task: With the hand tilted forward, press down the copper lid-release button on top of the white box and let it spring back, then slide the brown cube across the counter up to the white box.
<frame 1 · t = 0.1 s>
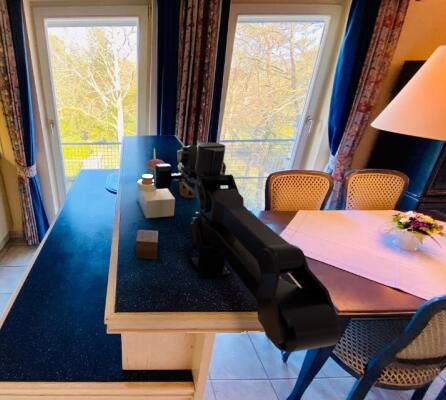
hand: (178, 165, 77), 17 cm above the breakfast bar, tool horizontal, fingers open, 9 cm apart
release button: (147, 179, 87), point 9 cm above the breakfast bar, slide at 0.1 cm
cupcake: (155, 175, 117), on the breakfast bar
white box: (155, 208, 88), on the breakfast bar
disposable coffee cup: (188, 194, 98), on the breakfast bar
brown cube: (147, 252, 66), on the breakfast bar
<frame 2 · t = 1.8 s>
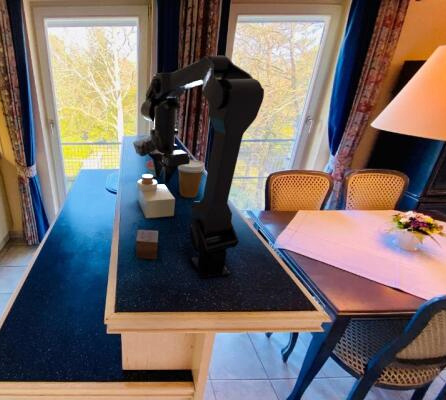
hand: (161, 179, 77), 13 cm above the breakfast bar, tool pointing down, fingers open, 5 cm apart
nothing on the breakfast bar moved.
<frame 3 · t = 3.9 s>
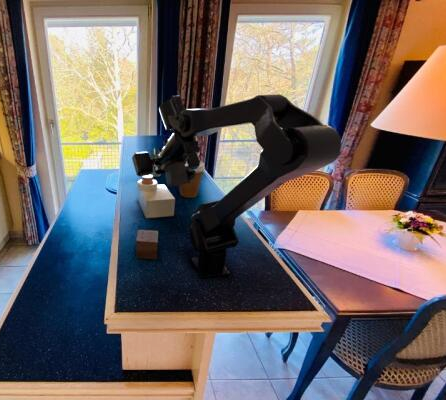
hand: (156, 174, 80), 13 cm above the breakfast bar, tool tilted 45°, fingers closed
nothing on the breakfast bar moved.
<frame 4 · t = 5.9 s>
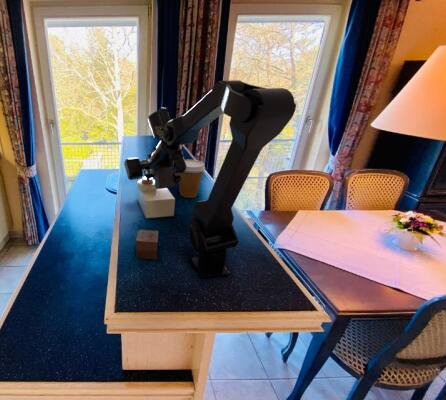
hand: (147, 177, 87), 10 cm above the breakfast bar, tool tilted 45°, fingers closed, pressing on release button
release button: (147, 181, 88), point 8 cm above the breakfast bar, slide at -0.7 cm, touching gripper
everything else where it was.
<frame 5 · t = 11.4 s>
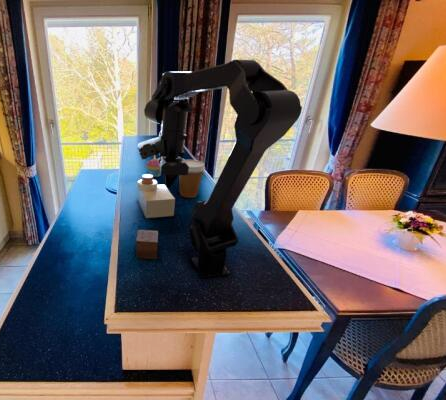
hand: (168, 187, 71), 13 cm above the breakfast bar, tool pointing down, fingers closed
release button: (147, 179, 87), point 9 cm above the breakfast bar, slide at 0.1 cm
everything else where it was.
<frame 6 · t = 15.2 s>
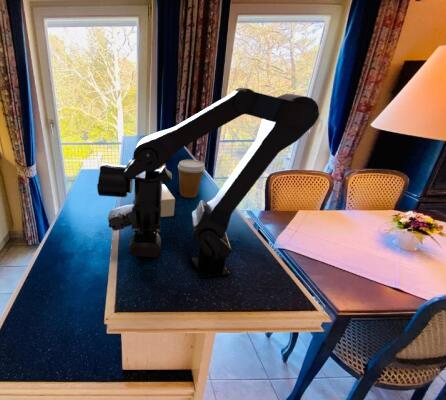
hand: (145, 257, 63), 1 cm above the breakfast bar, tool pointing down, fingers closed
brown cube: (146, 250, 67), on the breakfast bar, touching gripper
everything else where it was.
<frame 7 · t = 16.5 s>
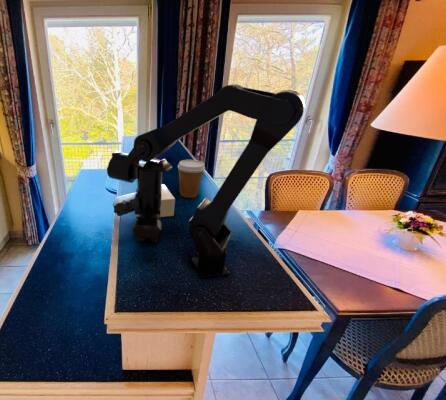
hand: (147, 242, 68), 1 cm above the breakfast bar, tool pointing down, fingers closed
brown cube: (148, 236, 73), on the breakfast bar, touching gripper
everything else where it was.
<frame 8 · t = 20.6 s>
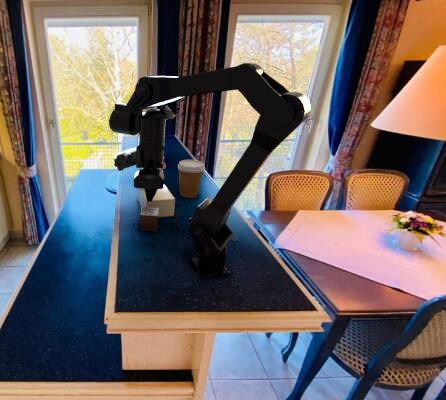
hand: (149, 201, 66), 12 cm above the breakfast bar, tool pointing down, fingers closed
brown cube: (149, 226, 78), on the breakfast bar
everything else where it was.
at the end: release button pushed in 1.4 cm at the most during the clip, back to where it started at the end; release button slide at 0.1 cm; brown cube inside the target area on the breakfast bar beside the white box (1.1 cm from its centre), on the breakfast bar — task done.
